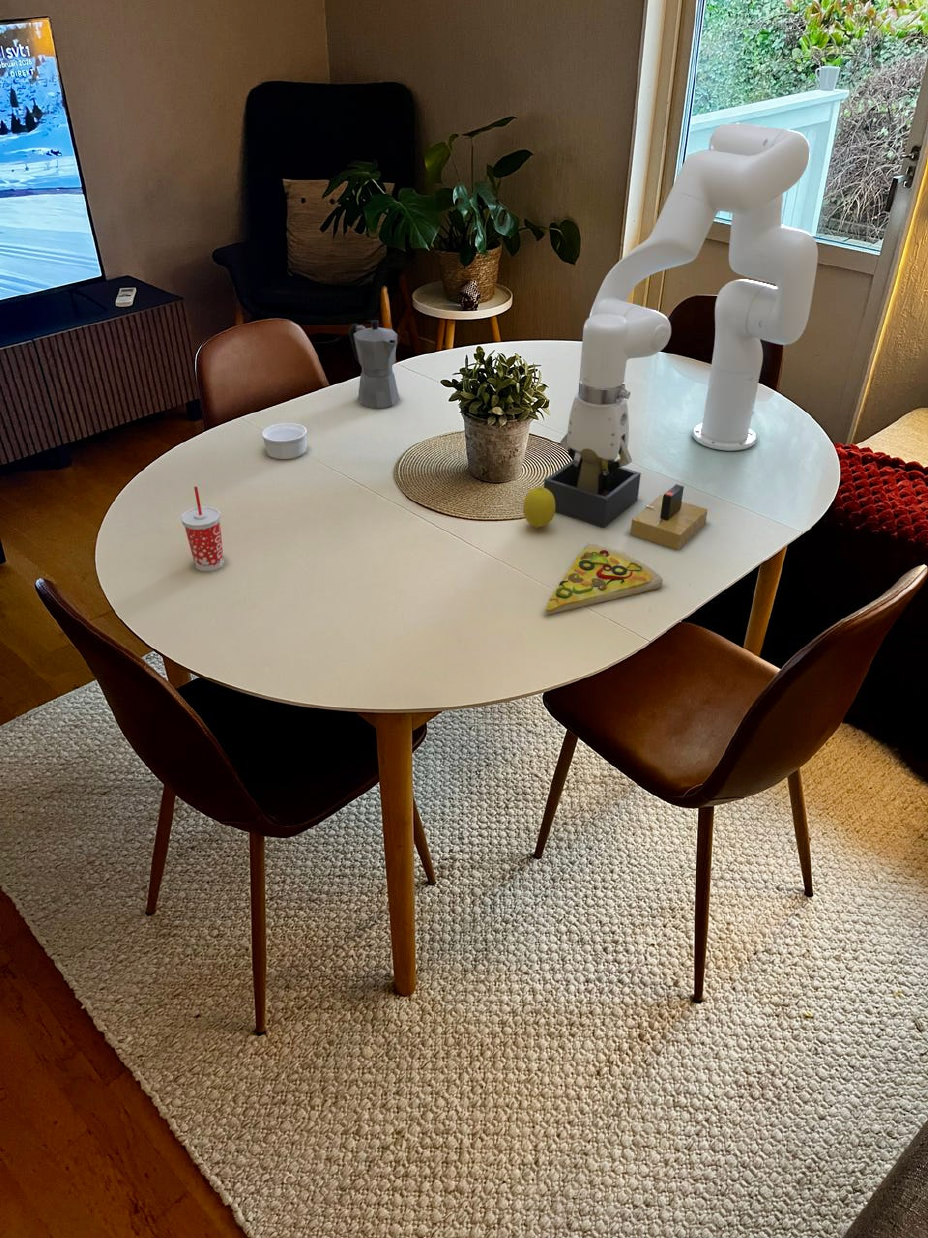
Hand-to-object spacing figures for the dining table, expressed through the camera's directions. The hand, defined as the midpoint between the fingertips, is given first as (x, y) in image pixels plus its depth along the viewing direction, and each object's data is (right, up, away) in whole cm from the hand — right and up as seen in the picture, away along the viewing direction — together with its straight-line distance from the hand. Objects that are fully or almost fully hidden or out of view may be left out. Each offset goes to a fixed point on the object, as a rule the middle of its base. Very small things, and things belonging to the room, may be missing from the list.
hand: (592, 487), depth 171 cm
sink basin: (0, -3, +2) cm, 3 cm away
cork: (0, -2, +1) cm, 2 cm away
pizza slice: (-3, -19, -21) cm, 29 cm away
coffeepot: (-43, +25, +41) cm, 65 cm away
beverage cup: (-65, -15, -15) cm, 68 cm away
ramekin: (-59, +10, +20) cm, 62 cm away
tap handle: (+13, -6, -7) cm, 16 cm away
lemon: (-10, -8, -5) cm, 14 cm away
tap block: (+13, -8, -5) cm, 16 cm away
